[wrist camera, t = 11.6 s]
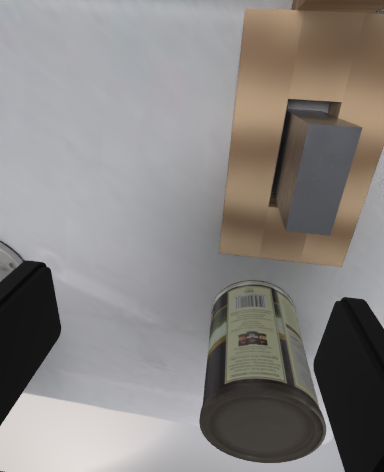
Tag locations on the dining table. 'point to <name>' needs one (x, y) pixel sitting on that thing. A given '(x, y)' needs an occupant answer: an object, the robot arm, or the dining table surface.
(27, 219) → the dining table surface
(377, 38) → the wooden slotted base
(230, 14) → the dining table surface
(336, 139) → the tall grey upright slab
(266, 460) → the coffee can
